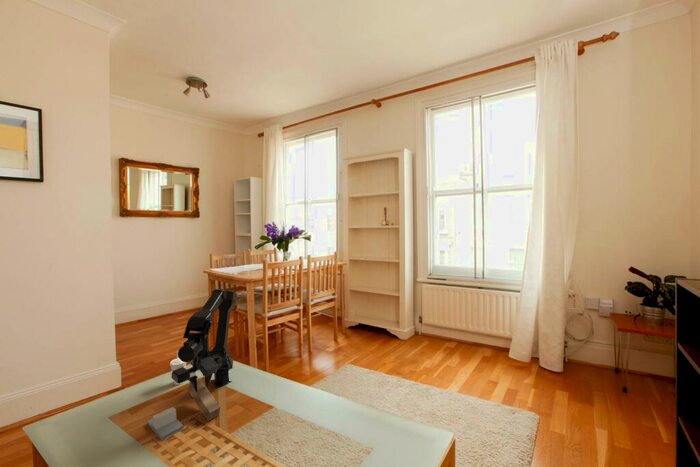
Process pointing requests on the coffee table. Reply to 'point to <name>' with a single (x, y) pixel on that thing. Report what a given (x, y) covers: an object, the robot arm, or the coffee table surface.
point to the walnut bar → (204, 400)
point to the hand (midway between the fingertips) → (201, 388)
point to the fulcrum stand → (165, 423)
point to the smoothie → (177, 366)
